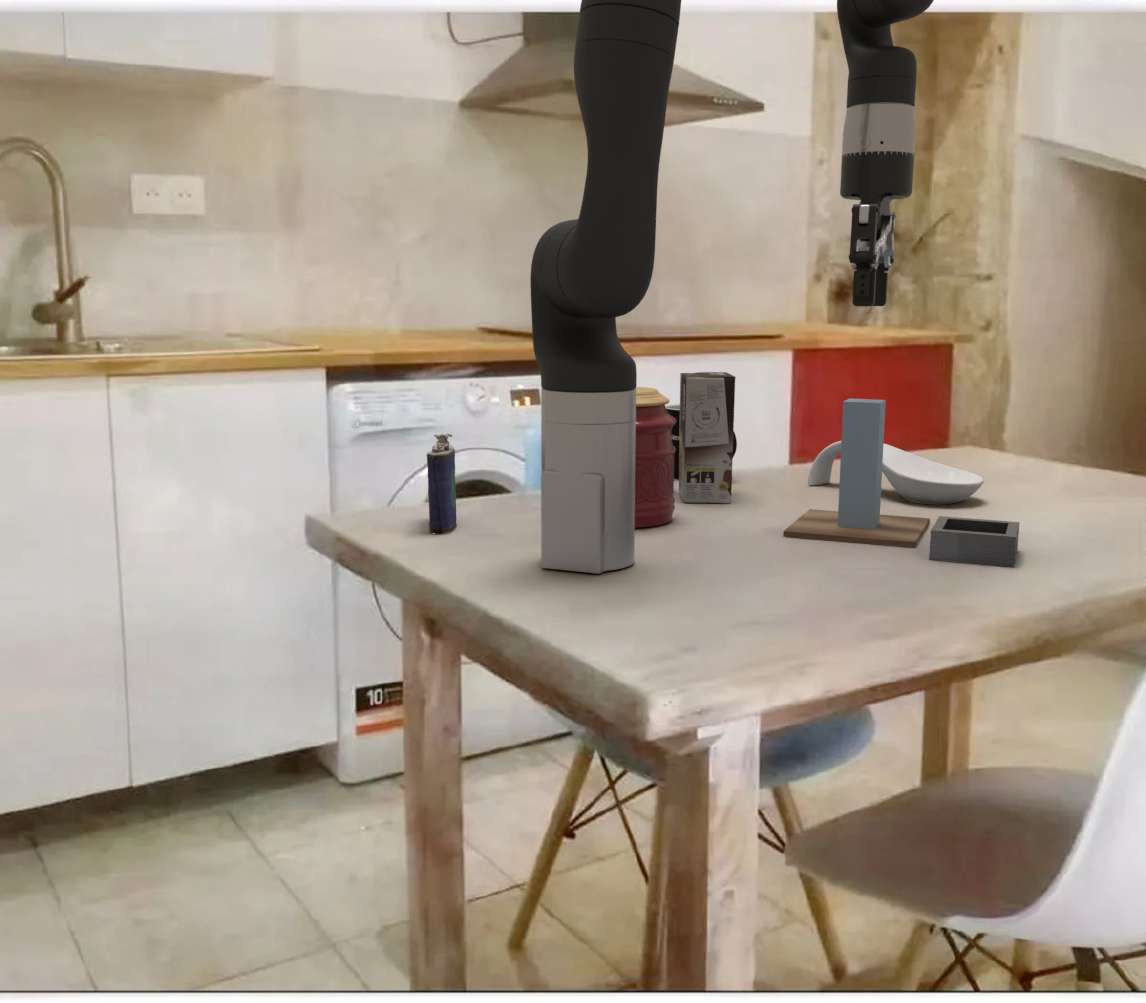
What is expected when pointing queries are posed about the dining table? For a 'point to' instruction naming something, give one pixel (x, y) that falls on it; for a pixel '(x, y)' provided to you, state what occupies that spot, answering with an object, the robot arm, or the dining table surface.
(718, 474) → the coffee box
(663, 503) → the canister
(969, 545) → the collar
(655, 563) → the dining table surface
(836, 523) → the board
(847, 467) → the peg
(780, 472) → the dining table surface
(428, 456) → the flask
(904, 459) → the spoon rest
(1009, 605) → the dining table surface
